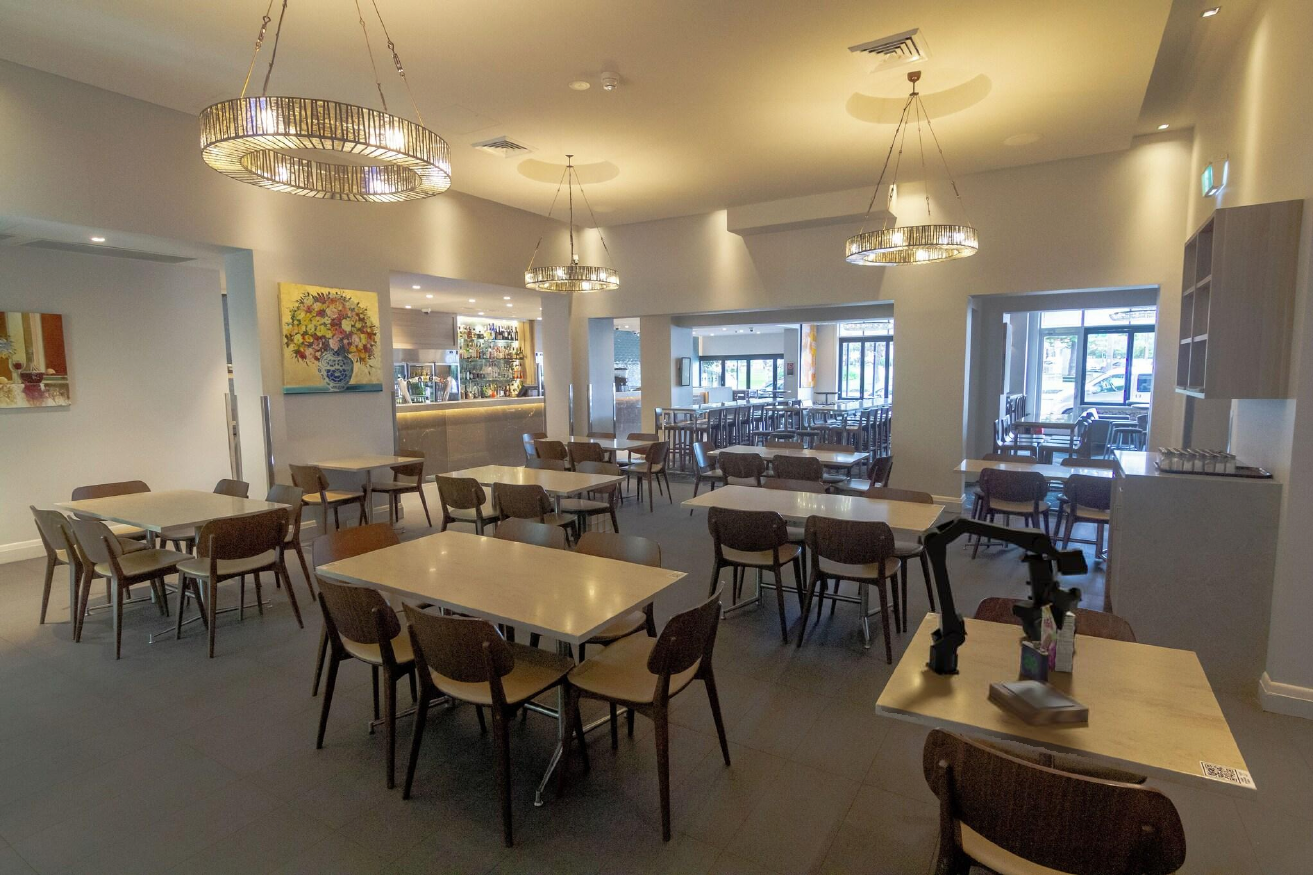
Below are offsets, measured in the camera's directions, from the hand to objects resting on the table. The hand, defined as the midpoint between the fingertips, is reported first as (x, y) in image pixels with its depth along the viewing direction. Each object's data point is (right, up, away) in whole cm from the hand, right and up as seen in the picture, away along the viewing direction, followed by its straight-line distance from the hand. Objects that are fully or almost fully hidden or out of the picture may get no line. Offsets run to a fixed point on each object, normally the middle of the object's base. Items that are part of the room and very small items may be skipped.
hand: (1048, 634), depth 173 cm
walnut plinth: (-10, -14, -12) cm, 21 cm away
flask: (-2, -13, +3) cm, 14 cm away
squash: (+17, -11, +29) cm, 35 cm away
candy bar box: (+9, -12, +12) cm, 20 cm away
